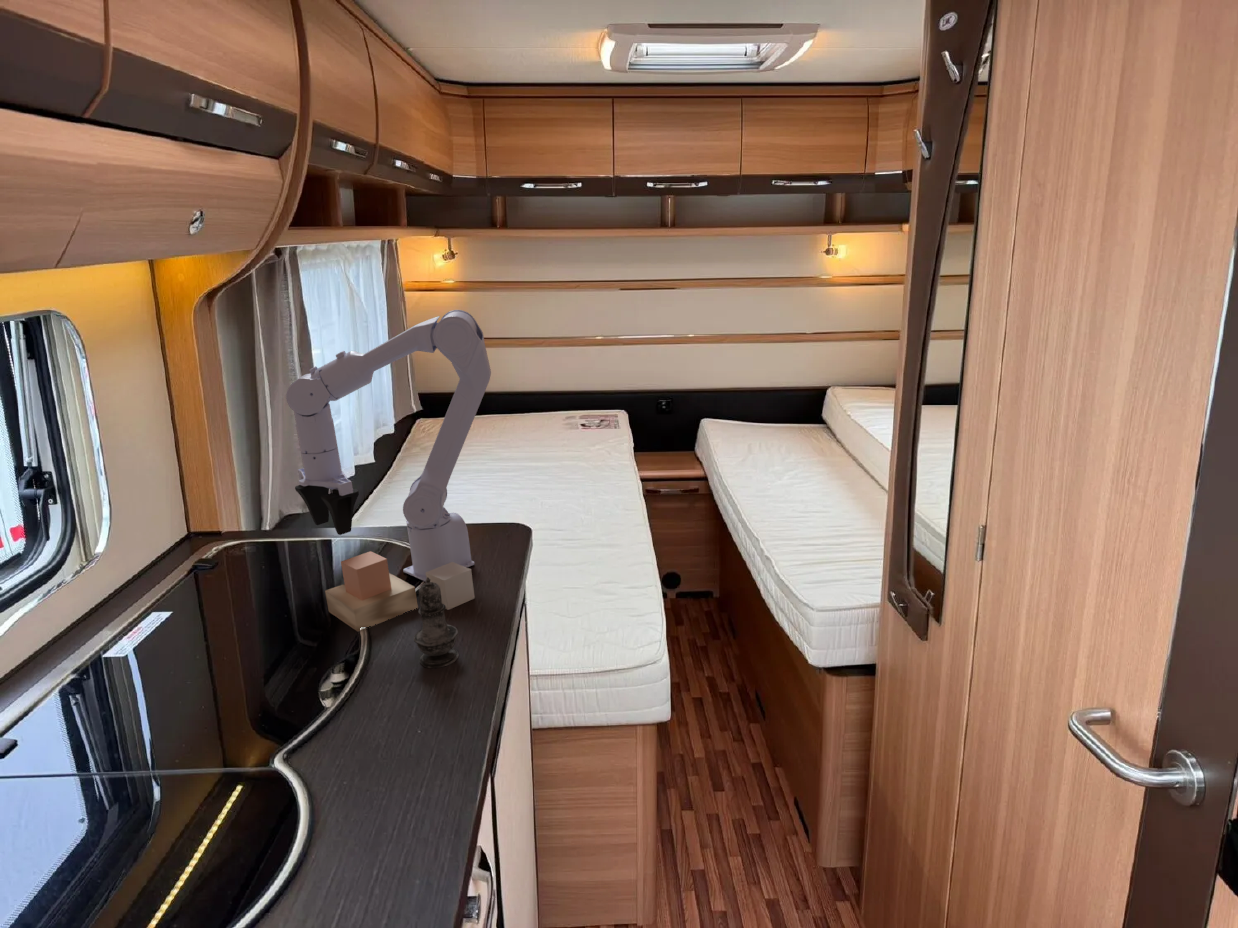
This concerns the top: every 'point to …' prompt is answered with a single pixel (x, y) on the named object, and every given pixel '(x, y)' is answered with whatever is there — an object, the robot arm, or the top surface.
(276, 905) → the top surface
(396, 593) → the birch block
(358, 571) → the terracotta cube
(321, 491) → the robot arm
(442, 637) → the dark tall tiered piece
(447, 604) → the grey cube
